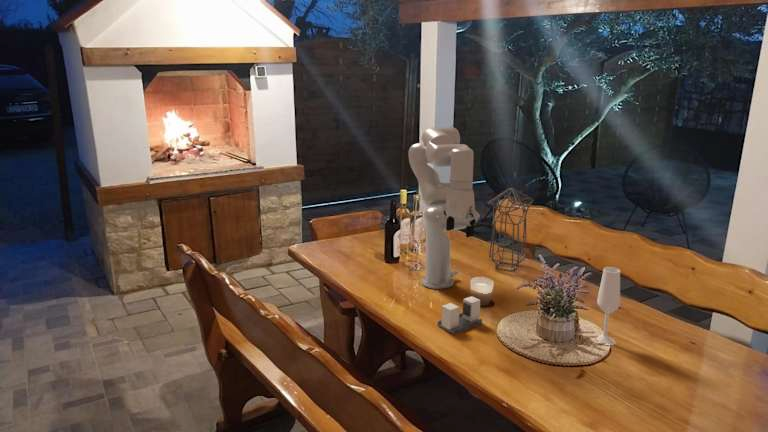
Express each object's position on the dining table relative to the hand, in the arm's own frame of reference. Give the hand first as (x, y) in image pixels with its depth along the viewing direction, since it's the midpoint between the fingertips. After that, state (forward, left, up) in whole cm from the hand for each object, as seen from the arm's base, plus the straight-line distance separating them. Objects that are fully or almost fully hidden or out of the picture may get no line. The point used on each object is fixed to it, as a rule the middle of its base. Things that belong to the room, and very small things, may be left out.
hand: (459, 233), depth 200 cm
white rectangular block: (+4, +10, -27) cm, 29 cm away
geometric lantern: (-45, -17, -28) cm, 56 cm away
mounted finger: (+13, +10, -27) cm, 32 cm away
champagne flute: (-20, +46, -28) cm, 58 cm away
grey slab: (+9, +10, -28) cm, 31 cm away
